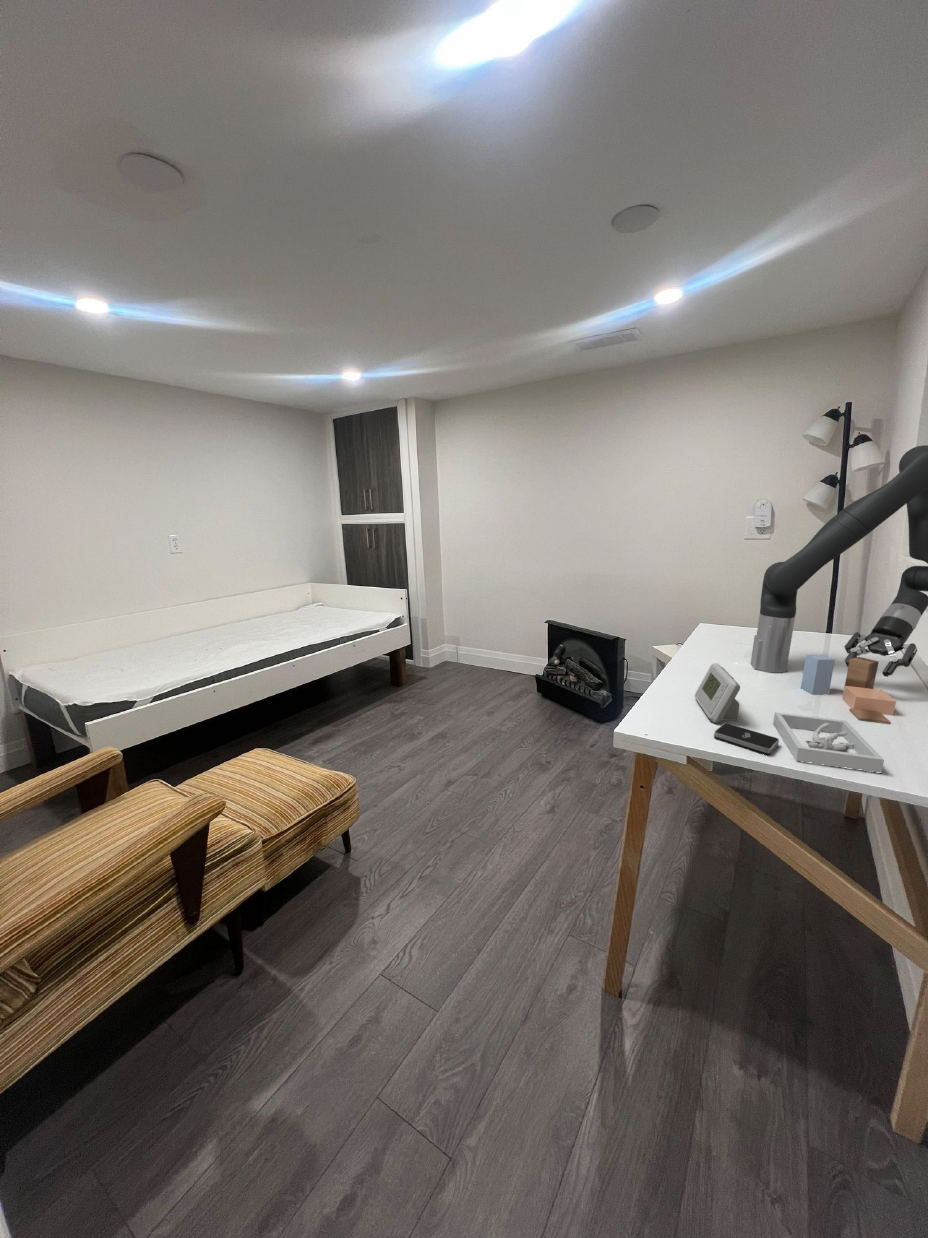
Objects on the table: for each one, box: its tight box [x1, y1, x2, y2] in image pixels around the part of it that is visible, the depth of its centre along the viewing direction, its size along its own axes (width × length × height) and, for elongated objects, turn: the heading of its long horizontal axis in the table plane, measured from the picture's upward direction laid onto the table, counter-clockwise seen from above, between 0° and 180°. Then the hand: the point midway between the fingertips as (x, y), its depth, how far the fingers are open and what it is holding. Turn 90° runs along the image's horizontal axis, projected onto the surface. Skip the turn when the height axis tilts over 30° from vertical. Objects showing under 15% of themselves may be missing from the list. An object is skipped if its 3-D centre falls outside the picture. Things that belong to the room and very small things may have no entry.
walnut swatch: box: [849, 707, 891, 725], centre depth 117 cm, size 6×6×1 cm
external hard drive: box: [713, 722, 780, 757], centre depth 105 cm, size 7×11×2 cm, turn 43°
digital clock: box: [694, 662, 741, 724], centre depth 119 cm, size 16×9×11 cm, turn 157°
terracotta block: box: [841, 685, 897, 717], centre depth 123 cm, size 8×8×4 cm
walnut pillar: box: [842, 656, 880, 694], centre depth 129 cm, size 4×4×10 cm
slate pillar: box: [800, 654, 836, 696], centre depth 132 cm, size 4×4×10 cm
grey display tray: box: [772, 711, 885, 773], centre depth 103 cm, size 14×18×3 cm
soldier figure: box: [805, 723, 854, 752], centre depth 100 cm, size 8×5×12 cm
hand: (865, 670), depth 129 cm, fingers open, 8 cm apart
